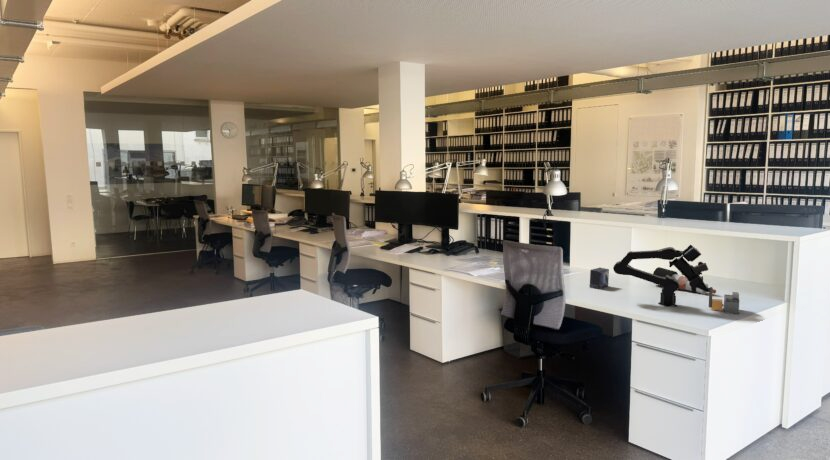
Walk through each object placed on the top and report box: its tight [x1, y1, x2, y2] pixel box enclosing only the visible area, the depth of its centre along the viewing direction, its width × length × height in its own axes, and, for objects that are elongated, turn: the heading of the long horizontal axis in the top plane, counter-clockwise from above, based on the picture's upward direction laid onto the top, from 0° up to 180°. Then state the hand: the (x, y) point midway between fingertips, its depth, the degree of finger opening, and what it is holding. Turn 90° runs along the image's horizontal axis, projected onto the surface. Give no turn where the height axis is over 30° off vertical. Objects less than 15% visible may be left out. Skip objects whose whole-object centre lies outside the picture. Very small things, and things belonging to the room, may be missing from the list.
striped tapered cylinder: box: [652, 266, 717, 295], centre depth 315 cm, size 10×34×10 cm, turn 37°
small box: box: [589, 267, 610, 290], centre depth 325 cm, size 11×6×10 cm, turn 131°
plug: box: [708, 287, 724, 311], centre depth 274 cm, size 6×4×11 cm
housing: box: [723, 291, 740, 315], centre depth 271 cm, size 6×10×9 cm, turn 154°
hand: (708, 291), depth 275 cm, fingers closed
